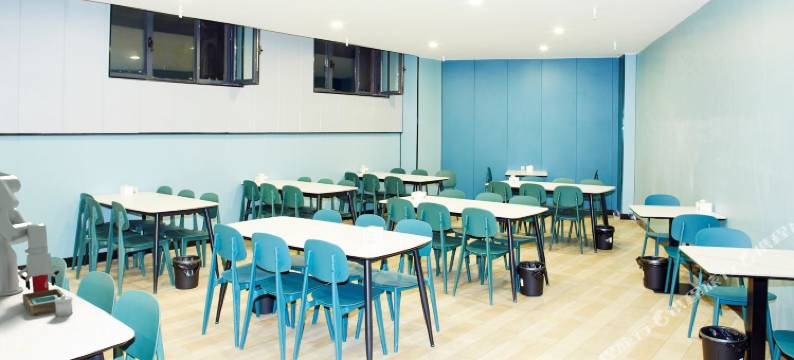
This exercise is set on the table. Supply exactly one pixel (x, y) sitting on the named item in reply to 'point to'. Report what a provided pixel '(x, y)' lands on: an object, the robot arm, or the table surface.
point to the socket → (43, 299)
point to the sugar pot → (63, 306)
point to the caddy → (42, 307)
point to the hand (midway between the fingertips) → (41, 287)
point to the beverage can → (40, 283)
